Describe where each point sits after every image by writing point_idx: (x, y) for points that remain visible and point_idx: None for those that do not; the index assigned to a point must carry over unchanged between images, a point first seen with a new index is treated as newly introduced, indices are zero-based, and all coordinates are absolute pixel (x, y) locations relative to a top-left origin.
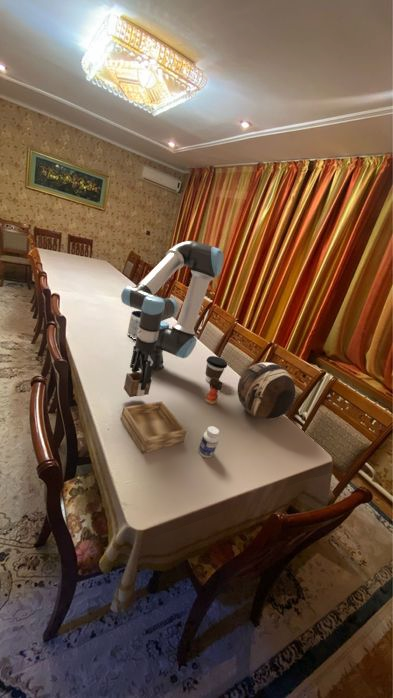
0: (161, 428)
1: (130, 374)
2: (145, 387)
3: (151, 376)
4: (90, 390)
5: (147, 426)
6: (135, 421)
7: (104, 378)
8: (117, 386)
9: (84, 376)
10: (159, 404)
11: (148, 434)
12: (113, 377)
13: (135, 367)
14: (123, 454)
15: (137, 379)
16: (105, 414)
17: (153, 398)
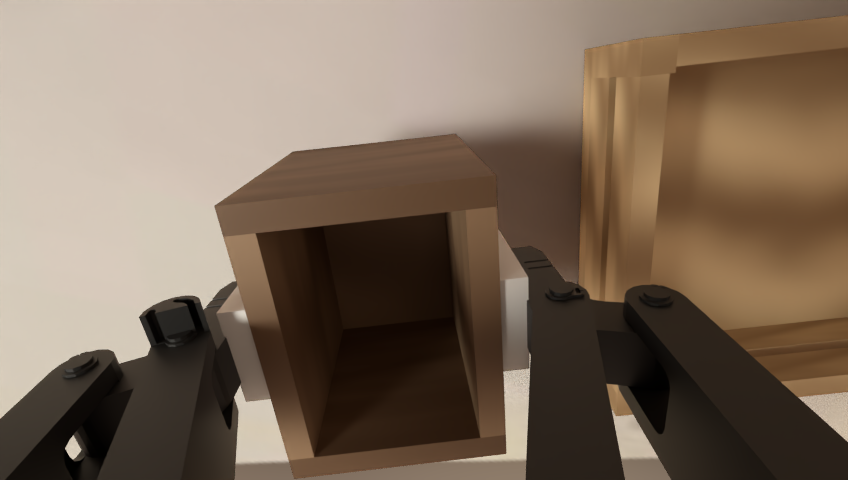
0: (805, 133)
1: (312, 436)
2: (549, 263)
3: (784, 385)
4: (253, 448)
5: (736, 229)
6: (802, 379)
7: (71, 347)
8: (183, 282)
9: (74, 457)
10: (661, 80)
11: (807, 250)
12: (36, 279)
13: (228, 466)
14: (838, 400)
15: (306, 276)
16: (512, 416)
17: (374, 14)
